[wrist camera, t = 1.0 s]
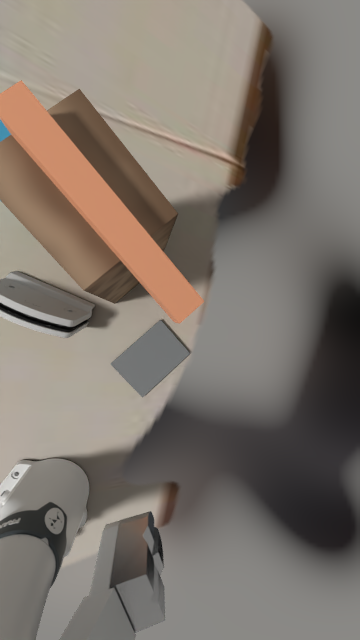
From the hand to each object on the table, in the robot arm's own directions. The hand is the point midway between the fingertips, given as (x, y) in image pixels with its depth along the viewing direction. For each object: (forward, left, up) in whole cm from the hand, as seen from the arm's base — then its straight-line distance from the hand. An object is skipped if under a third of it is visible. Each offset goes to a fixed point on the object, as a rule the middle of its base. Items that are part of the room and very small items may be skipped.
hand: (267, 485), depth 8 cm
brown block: (+4, +19, -41) cm, 46 cm away
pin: (+4, +15, -15) cm, 22 cm away
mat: (-4, -2, -41) cm, 41 cm away
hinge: (-12, +20, -42) cm, 48 cm away
